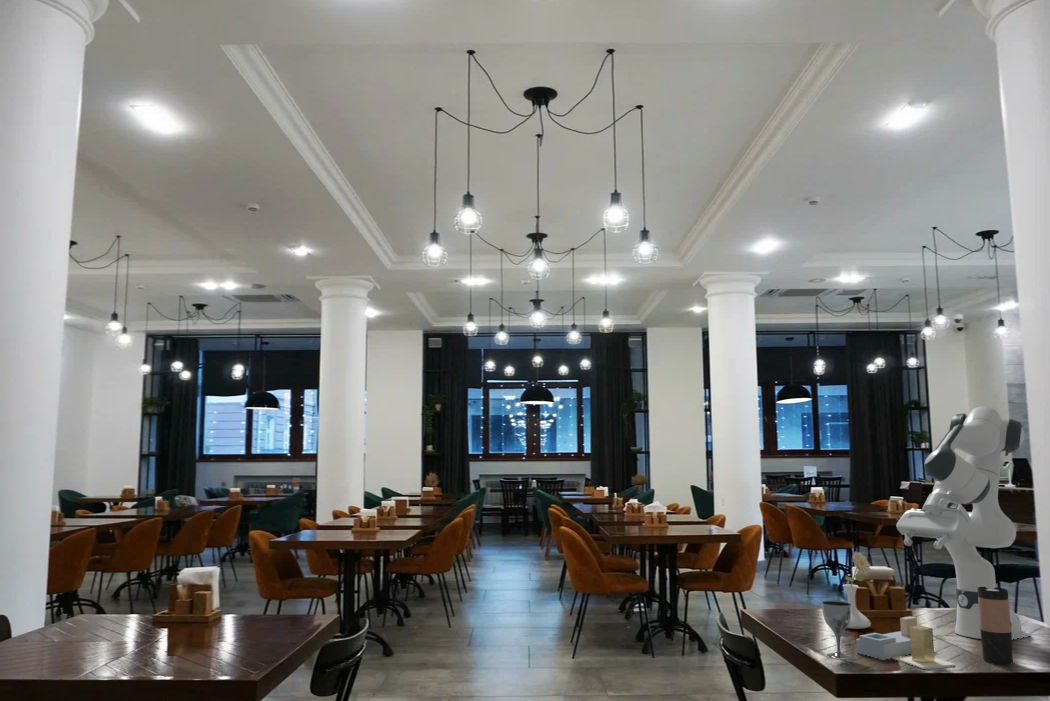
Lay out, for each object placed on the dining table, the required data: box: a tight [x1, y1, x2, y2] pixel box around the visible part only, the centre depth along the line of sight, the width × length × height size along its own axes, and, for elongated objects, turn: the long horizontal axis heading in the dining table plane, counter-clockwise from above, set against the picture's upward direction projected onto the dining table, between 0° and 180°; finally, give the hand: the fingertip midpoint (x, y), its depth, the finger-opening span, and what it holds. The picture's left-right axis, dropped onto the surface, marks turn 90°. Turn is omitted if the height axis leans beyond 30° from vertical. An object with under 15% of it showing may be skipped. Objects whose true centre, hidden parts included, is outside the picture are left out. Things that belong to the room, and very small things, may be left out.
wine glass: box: [821, 600, 852, 659], centre depth 227 cm, size 8×8×15 cm
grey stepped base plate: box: [855, 615, 918, 661], centre depth 232 cm, size 22×9×9 cm, turn 119°
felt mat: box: [892, 655, 956, 670], centre depth 219 cm, size 11×11×1 cm
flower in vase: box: [842, 551, 872, 630], centre depth 265 cm, size 13×11×25 cm
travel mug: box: [978, 586, 1014, 665], centre depth 221 cm, size 8×8×20 cm
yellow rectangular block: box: [910, 625, 936, 664], centre depth 220 cm, size 4×4×9 cm
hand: (921, 546), depth 229 cm, fingers open, 8 cm apart
